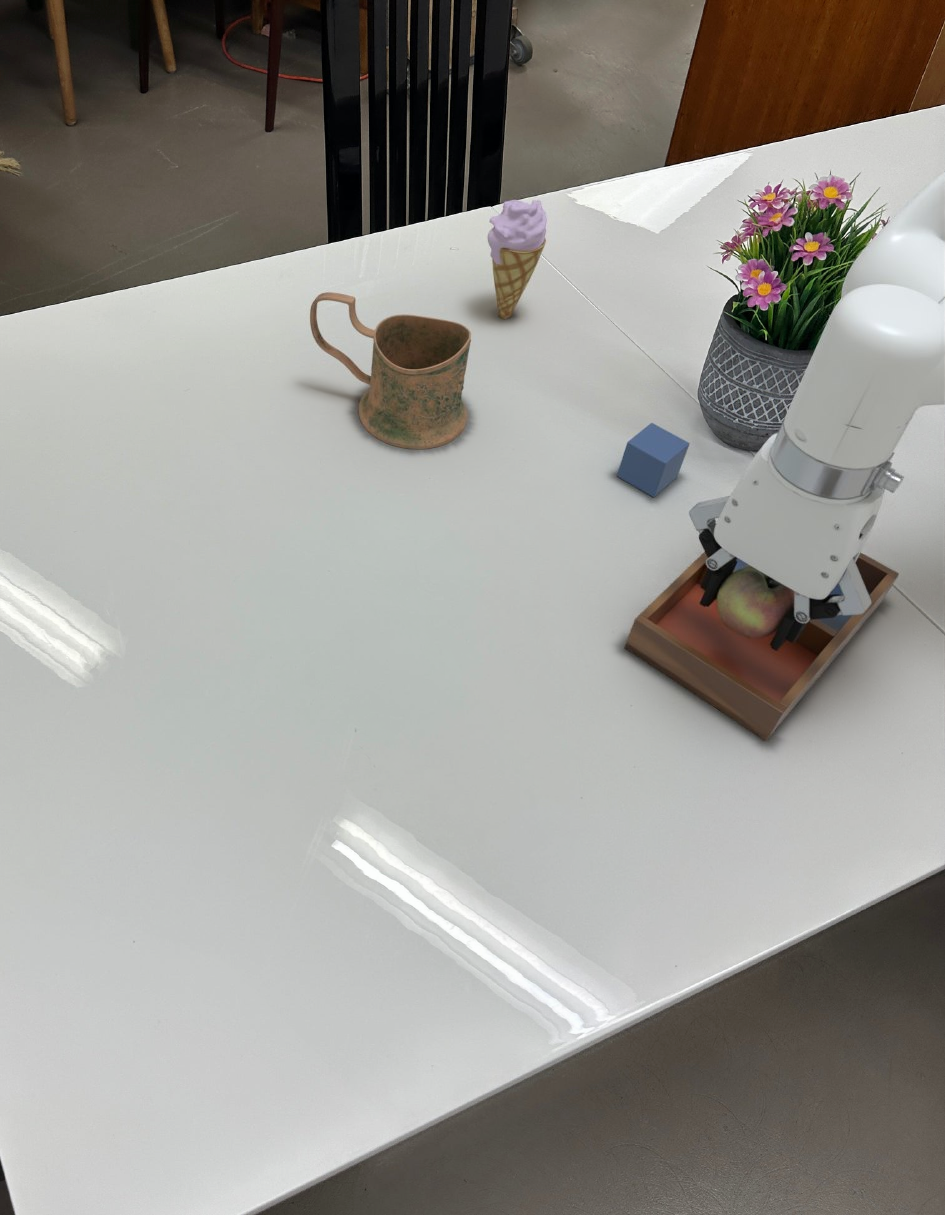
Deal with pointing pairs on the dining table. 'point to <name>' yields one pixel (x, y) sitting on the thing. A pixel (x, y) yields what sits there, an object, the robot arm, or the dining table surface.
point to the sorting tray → (744, 648)
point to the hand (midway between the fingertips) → (746, 617)
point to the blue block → (652, 459)
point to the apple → (753, 602)
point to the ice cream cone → (515, 250)
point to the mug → (408, 376)
